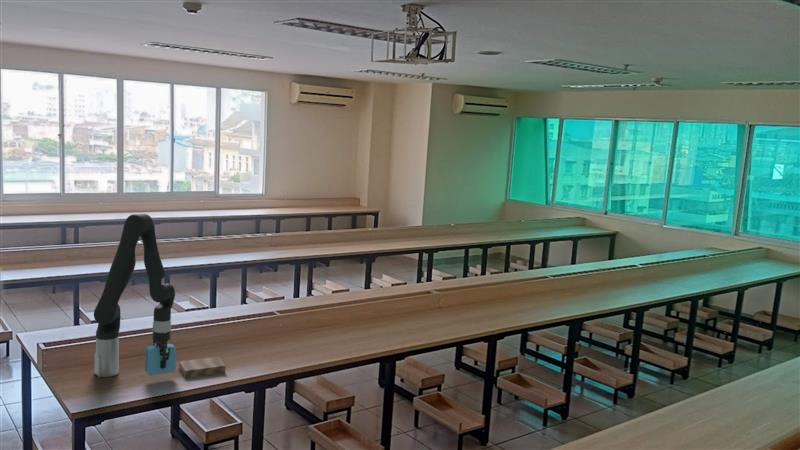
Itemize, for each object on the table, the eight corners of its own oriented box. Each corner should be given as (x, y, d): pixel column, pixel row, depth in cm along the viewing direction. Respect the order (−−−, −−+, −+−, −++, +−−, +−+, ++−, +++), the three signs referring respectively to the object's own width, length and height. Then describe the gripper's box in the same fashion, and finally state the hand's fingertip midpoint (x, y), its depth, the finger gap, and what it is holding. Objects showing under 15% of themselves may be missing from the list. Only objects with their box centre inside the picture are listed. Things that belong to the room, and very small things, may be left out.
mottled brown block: (184, 379, 291) (185, 370, 290) (179, 369, 301) (179, 361, 300) (225, 373, 300) (225, 365, 299) (218, 364, 310) (218, 356, 309)
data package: (172, 368, 292) (173, 343, 290) (175, 372, 288) (176, 346, 286) (145, 372, 285) (145, 346, 283) (147, 376, 282) (148, 349, 280)
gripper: (147, 325, 286) (146, 362, 289) (159, 335, 276) (158, 373, 279) (164, 323, 291) (162, 359, 294) (176, 332, 281) (175, 370, 283)
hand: (160, 365), depth 286 cm, fingers closed on data package, 5 cm apart
